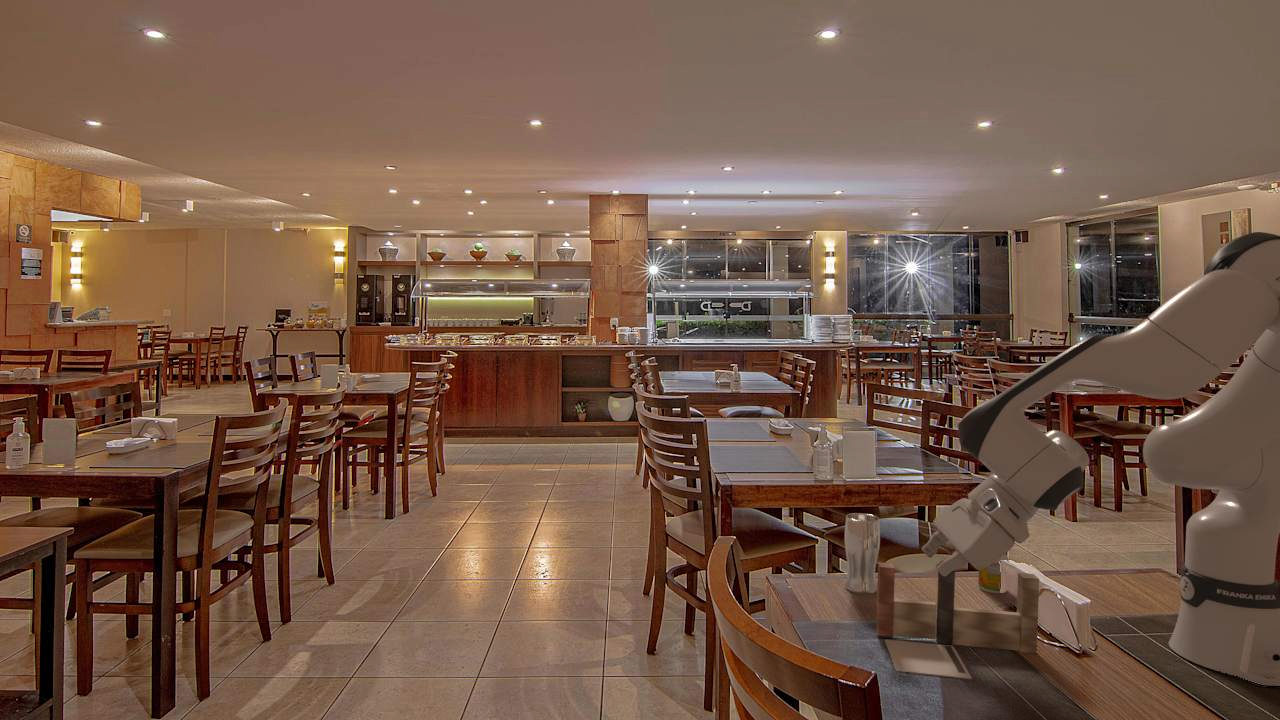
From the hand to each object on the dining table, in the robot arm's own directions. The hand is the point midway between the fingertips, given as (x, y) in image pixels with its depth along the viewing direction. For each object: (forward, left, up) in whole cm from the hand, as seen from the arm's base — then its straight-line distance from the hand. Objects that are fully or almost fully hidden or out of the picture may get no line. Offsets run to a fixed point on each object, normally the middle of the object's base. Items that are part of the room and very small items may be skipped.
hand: (931, 562), depth 114 cm
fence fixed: (-9, -1, -14) cm, 17 cm away
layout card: (+2, +6, -14) cm, 15 cm away
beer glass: (+8, -23, -14) cm, 28 cm away
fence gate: (+4, -1, -13) cm, 14 cm away
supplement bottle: (-19, -29, -14) cm, 37 cm away
